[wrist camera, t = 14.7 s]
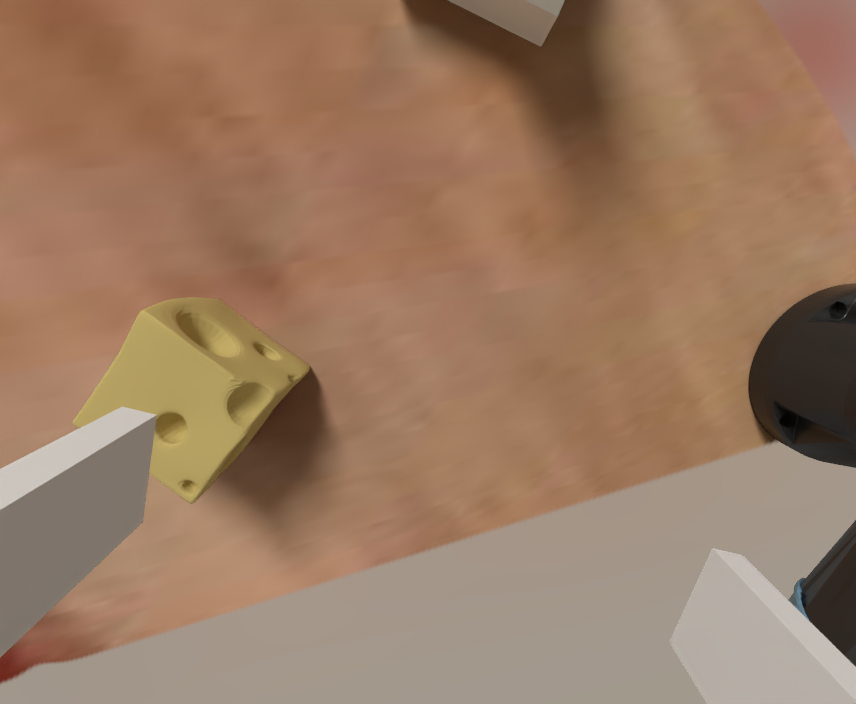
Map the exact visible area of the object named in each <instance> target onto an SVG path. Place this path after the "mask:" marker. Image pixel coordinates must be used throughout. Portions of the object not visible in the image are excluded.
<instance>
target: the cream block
mask: <svg viewBox="0 0 856 704" xmlns="http://www.w3.org/2000/svg"><path fill="white" fill-rule="evenodd" d="M448 1H450V2H452V3H454V4H456V5H458V6H460V7H462V8H464V9H466V10H468V11H470V12H472V13H474V14H476V15H478V16H480V17H482V18H484V19H486V20H488V21H490V22H492V23H494V24H496V25H498V26H500V27H502V28H504V29H506V30H508V31H510V32H512V33H514V34H516V35H518V36H520V37H522V38H524V39H526V40H528V41H530V42H532V43H534V44H536V45H538V46H540V47H542V45H543V43H544V41H545V39H546V37H547V36H548V34H549V32H550V30H551V28H552V26H553V24H554V23H555V21H556V19H557V17H558V15H559V13H560V10H561V8H562V6H563V3H564V1H565V0H448Z"/></svg>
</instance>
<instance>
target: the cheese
mask: <svg viewBox="0 0 856 704" xmlns="http://www.w3.org/2000/svg"><path fill="white" fill-rule="evenodd" d="M309 370H310V366H309V365H308V364H307V363H305V362H304V361H303V360H301V359H300V358H298V357H297V356H295V355H293V354H292V353H290V352H289V351H287V350H285V349H284V348H282V347H281V346H280V345H278V344H277V343H275V342H274V341H273V340H271V339H270V338H269V337H268V336H266V335H265V334H264V333H262V332H261V331H260V330H258V329H257V328H256V327H254V326H253V325H252V324H250V323H249V322H248V321H247V320H245V319H244V318H243V317H241V316H240V315H239V314H238V313H236V312H235V311H234V310H232V309H231V308H230V307H229V306H227V305H226V304H225V303H224V302H222V301H221V300H219V299H209V298H177V299H172V300H168V301H164V302H161V303H158V304H155V305H153V306H150V307H148V308H146V309H144V310H142V311H141V312H140V313H139V315H138V316H137V318H136V320H135V322H134V324H133V326H132V328H131V330H130V332H129V334H128V336H127V338H126V340H125V342H124V344H123V346H122V348H121V350H120V352H119V354H118V355H117V357H116V359H115V360H114V362H113V363H112V365H111V366H110V368H109V369H108V371H107V372H106V374H105V375H104V377H103V378H102V380H101V381H100V383H99V384H98V386H97V387H96V389H95V390H94V392H93V393H92V395H91V396H90V398H89V399H88V401H87V402H86V404H85V405H84V407H83V408H82V410H81V411H80V412H79V414H78V415H77V417H76V418H75V419H74V421H73V424H74V425H75V426H76V427H78V428H81V427H83V426H85V425H87V424H89V423H91V422H93V421H95V420H97V419H99V418H101V417H103V416H105V415H107V414H109V413H111V412H112V411H114V410H116V409H118V408H120V407H126V408H130V409H134V410H139V411H143V412H147V413H151V414H155V415H157V417H156V425H155V432H154V440H153V447H152V455H151V463H150V470H149V474H150V475H152V476H153V477H155V478H156V479H157V480H159V481H160V482H162V483H163V484H164V485H166V486H167V487H168V488H170V489H171V490H172V491H174V492H175V493H176V494H178V495H179V496H180V497H182V498H183V499H184V500H186V501H187V502H189V503H191V504H192V503H194V502H195V501H196V500H197V499H198V498H199V497H200V496H201V495H202V494H203V493H204V492H205V491H206V490H207V489H208V488H209V487H210V486H211V485H212V484H213V483H214V481H215V480H216V479H217V478H218V476H219V475H220V474H221V473H222V472H223V471H224V470H225V469H226V468H227V467H228V466H229V465H230V464H231V463H232V462H233V461H234V460H235V459H236V458H237V457H238V456H239V454H240V453H241V452H242V451H243V450H244V448H245V447H246V446H247V445H248V444H249V442H250V441H251V440H252V438H253V437H254V436H255V434H256V433H257V432H258V430H259V429H260V428H261V426H262V425H263V424H264V422H265V421H266V420H267V418H268V417H269V415H270V414H271V412H272V411H273V409H274V408H275V407H276V406H277V405H278V404H279V402H280V401H281V400H282V399H283V398H284V397H285V396H286V395H287V394H288V392H289V391H290V390H291V389H292V388H293V387H294V386H295V385H296V384H297V383H298V382H299V381H300V380H301V379H302V378H303V377H304V376H305V375H306V374H307V373H308V372H309Z"/></svg>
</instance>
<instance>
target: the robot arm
mask: <svg viewBox="0 0 856 704" xmlns="http://www.w3.org/2000/svg"><path fill="white" fill-rule="evenodd" d="M749 384H750V397H751V402H752V406H753V409H754V412H755V414H756V416H757V418H758V420H759V421H760V423H761V424H762V426H763V427H764V428H765V429H766V431H767V432H768V433H769V434H770V435H772V436H773V437H774V438H775V439H777V440H778V441H779V442H781V443H783V444H785V445H786V446H789V447H790V448H792V449H794V450H795V451H797V452H799V453H801V454H803V455H805V456H808V457H810V458H813V459H816V460H819V461H823V462H828V463H833V464H838V465H844V466H850V467H855V468H856V284H845V285H839V286H834V287H830V288H827V289H824V290H821V291H819V292H816V293H814V294H812V295H810V296H808V297H806V298H804V299H803V300H801V301H799V302H798V303H796V304H795V305H794V306H792V307H791V308H790V309H789V310H787V311H786V312H785V313H784V314H783V315H782V316H781V317H780V318H779V319H778V320H777V321H776V322H775V323H774V324H773V325H772V327H771V328H770V329H769V331H768V332H767V333H766V335H765V336H764V338H763V340H762V342H761V343H760V345H759V347H758V349H757V352H756V354H755V357H754V360H753V363H752V367H751V373H750V383H749ZM156 417H157V415H155V414H151V413H147V412H143V411H139V410H134V409H130V408H126V407H120V408H118V409H116V410H114V411H112V412H111V413H109V414H107V415H105V416H103V417H101V418H99V419H97V420H95V421H93V422H91V423H89V424H87V425H85V426H83V427H81V428H79V429H77V430H75V431H73V432H71V433H70V434H68V435H66V436H64V437H62V438H60V439H58V440H56V441H54V442H52V443H50V444H48V445H46V446H44V447H42V448H40V449H38V450H36V451H34V452H32V453H31V454H29V455H27V456H25V457H23V458H21V459H19V460H17V461H15V462H13V463H11V464H9V465H7V466H5V467H3V468H1V469H0V657H1V656H2V655H3V654H4V653H5V652H6V651H7V650H9V649H10V648H11V647H12V646H13V645H14V644H15V643H16V642H17V641H18V640H19V639H20V638H21V637H22V636H23V635H24V634H25V633H26V632H27V631H29V630H30V629H31V628H32V627H33V626H34V625H35V624H36V623H37V622H38V621H39V620H40V619H41V618H42V617H43V616H44V615H45V614H46V613H48V612H49V611H50V610H51V609H52V608H53V607H54V606H55V605H56V604H57V603H58V602H59V601H60V600H61V599H62V598H63V597H64V596H65V595H66V594H68V593H69V592H70V591H71V590H72V589H73V588H74V587H75V586H76V585H77V584H78V583H79V582H80V581H81V580H82V579H83V578H84V577H85V576H86V575H88V574H89V573H90V572H91V571H92V570H93V569H94V568H95V567H96V566H97V565H98V564H99V563H100V562H101V561H102V560H103V559H104V558H105V557H106V556H108V555H109V554H110V553H111V552H112V551H113V550H114V549H115V548H116V547H117V546H118V545H119V544H120V543H121V542H122V541H123V540H124V539H125V538H126V537H128V536H129V535H130V534H131V533H132V532H133V531H134V530H135V529H136V528H137V527H138V526H139V525H140V524H141V523H142V522H143V516H144V508H145V501H146V493H147V486H148V478H149V470H150V463H151V455H152V447H153V440H154V432H155V425H156ZM670 644H671V646H672V647H673V649H674V650H675V652H676V654H677V655H678V657H679V659H680V660H681V662H682V664H683V665H684V667H685V669H686V670H687V672H688V673H689V675H690V677H691V679H692V680H693V682H694V683H695V685H696V687H697V689H698V690H699V692H700V693H701V695H702V697H703V698H704V700H705V702H706V703H707V704H856V521H855V522H854V523H853V524H852V525H851V526H850V528H849V529H848V530H847V531H846V532H845V533H844V535H843V536H842V537H841V538H840V539H839V540H838V542H837V543H836V544H835V545H834V546H833V547H832V549H831V550H830V551H829V552H828V553H827V554H826V556H825V557H824V558H823V559H822V560H821V561H820V563H819V564H818V565H817V566H816V567H815V568H814V570H813V571H812V572H811V573H810V574H809V575H808V577H807V578H806V579H805V578H802V579H800V580H799V581H798V582H797V583H796V585H795V587H794V593H793V595H792V596H791V597H790V599H789V600H787V599H786V598H785V597H784V596H783V595H782V594H781V593H780V592H779V591H778V590H777V589H776V588H775V587H774V586H773V585H772V584H771V583H770V582H769V581H768V580H767V579H766V578H765V577H764V576H763V575H762V574H761V573H760V572H759V571H758V570H757V569H756V568H755V567H754V566H753V565H752V564H751V563H750V562H749V561H748V560H747V559H746V558H745V557H744V556H743V555H739V554H735V553H730V552H726V551H722V550H718V549H714V548H712V550H711V552H710V555H709V557H708V559H707V561H706V563H705V565H704V568H703V570H702V572H701V574H700V576H699V579H698V581H697V583H696V585H695V587H694V589H693V592H692V594H691V596H690V598H689V600H688V603H687V605H686V607H685V609H684V611H683V613H682V616H681V618H680V620H679V622H678V625H677V627H676V629H675V631H674V633H673V635H672V637H671V640H670Z"/></svg>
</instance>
